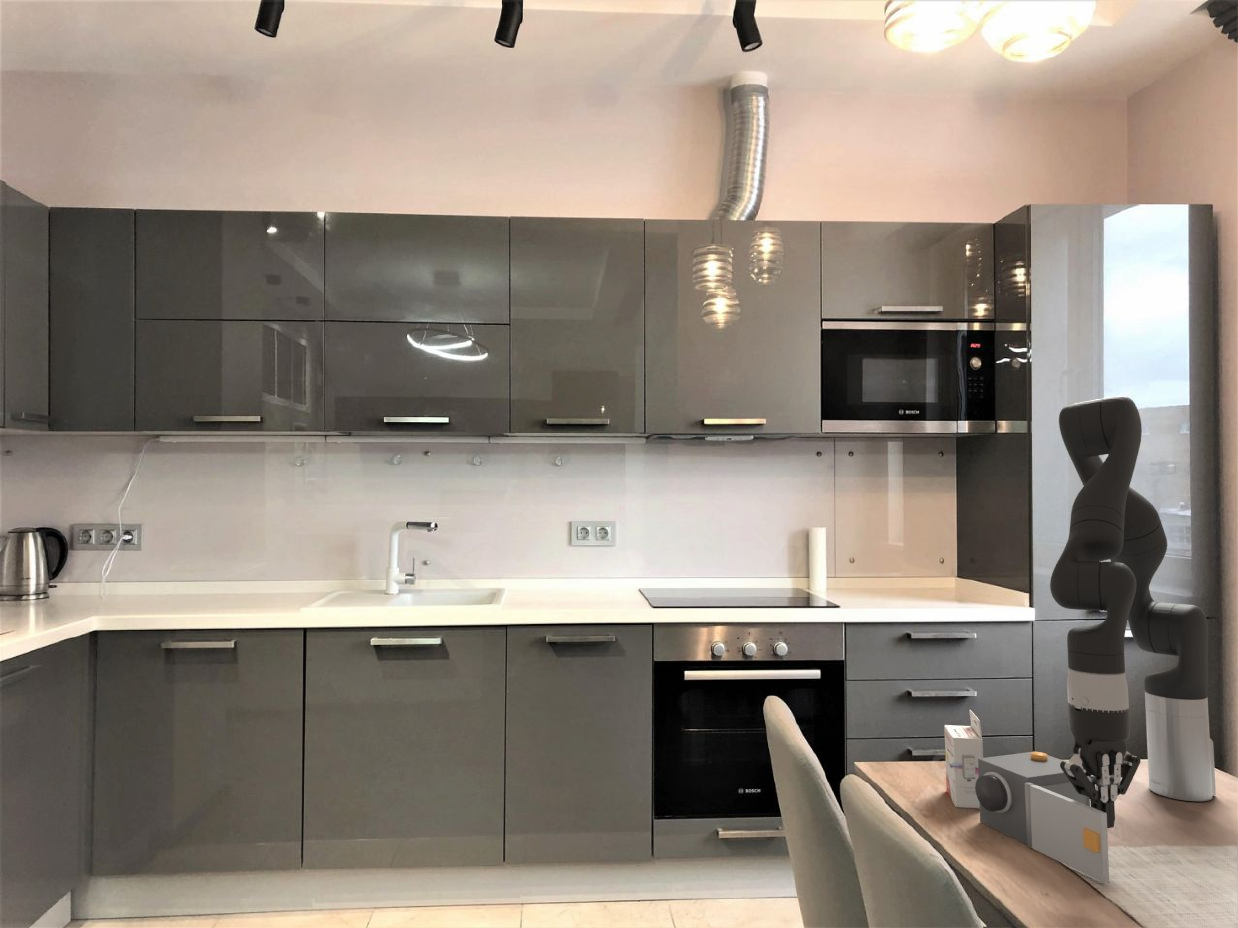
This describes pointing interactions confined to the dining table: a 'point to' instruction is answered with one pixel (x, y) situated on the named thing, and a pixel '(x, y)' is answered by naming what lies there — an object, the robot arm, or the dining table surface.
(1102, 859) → the side door
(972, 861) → the dining table surface
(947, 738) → the ink cartridge box
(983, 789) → the camera body
